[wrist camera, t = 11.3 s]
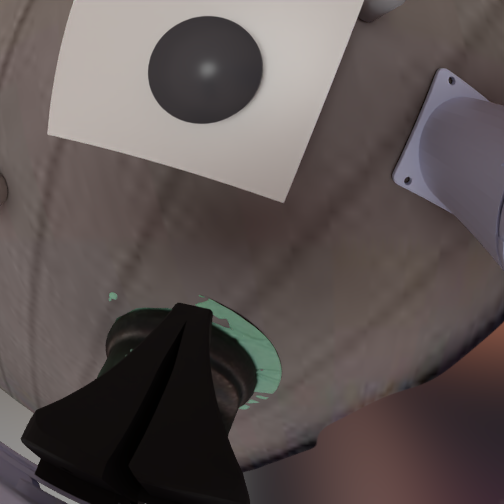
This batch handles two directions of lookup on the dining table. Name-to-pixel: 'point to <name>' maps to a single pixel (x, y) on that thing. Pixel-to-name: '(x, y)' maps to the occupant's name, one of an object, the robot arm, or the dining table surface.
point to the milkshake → (3, 190)
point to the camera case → (201, 82)
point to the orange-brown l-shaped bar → (377, 8)
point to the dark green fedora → (221, 354)
